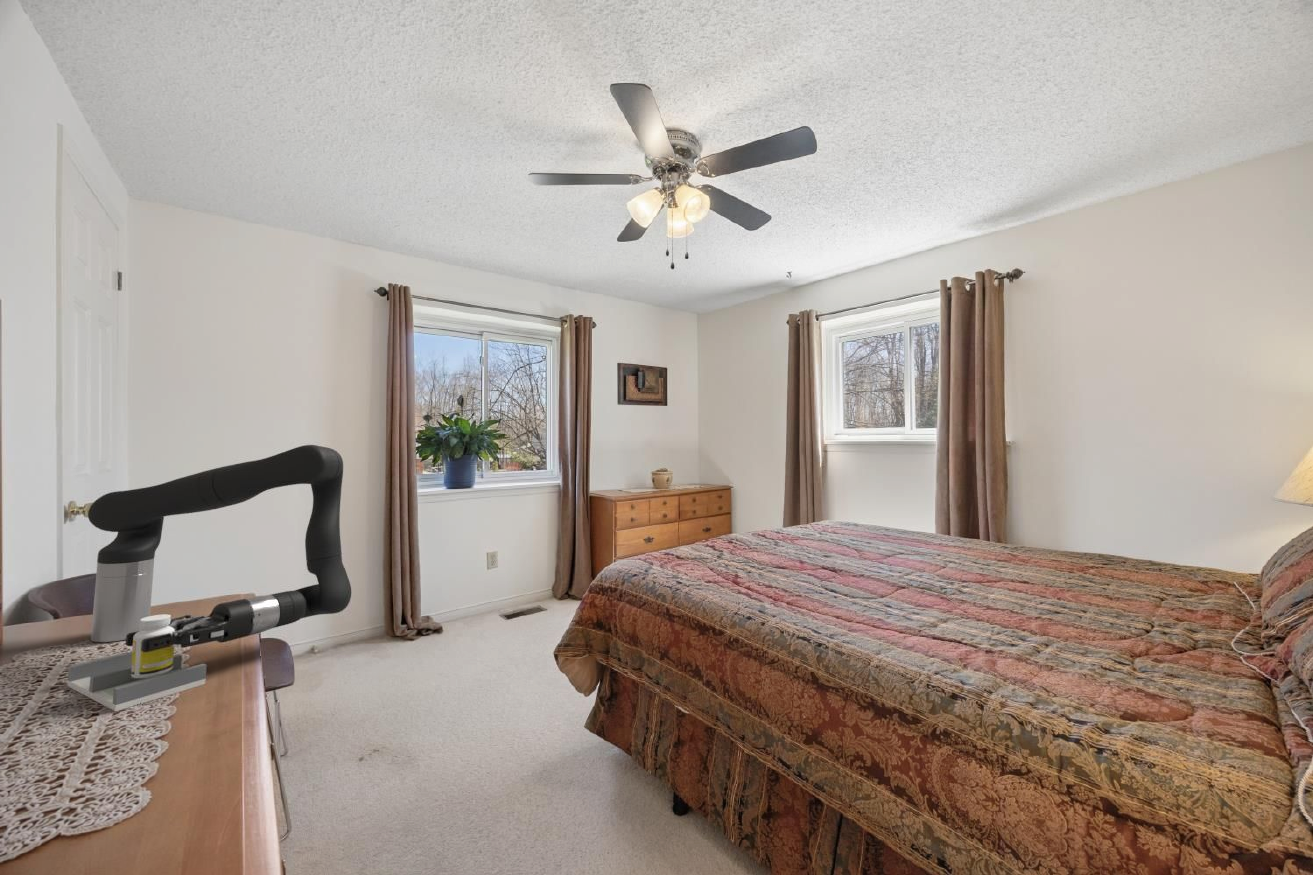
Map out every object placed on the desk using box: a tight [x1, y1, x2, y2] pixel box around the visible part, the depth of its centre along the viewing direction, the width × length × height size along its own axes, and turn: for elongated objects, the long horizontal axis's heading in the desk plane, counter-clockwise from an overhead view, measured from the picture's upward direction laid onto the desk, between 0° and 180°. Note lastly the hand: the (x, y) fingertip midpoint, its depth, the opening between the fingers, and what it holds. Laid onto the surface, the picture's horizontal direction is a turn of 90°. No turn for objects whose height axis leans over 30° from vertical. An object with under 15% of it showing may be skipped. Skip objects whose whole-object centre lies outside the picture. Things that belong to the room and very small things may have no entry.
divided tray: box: [66, 650, 207, 712], centre depth 94 cm, size 20×12×4 cm, turn 64°
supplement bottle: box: [131, 613, 175, 678], centre depth 92 cm, size 5×5×10 cm
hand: (134, 643), depth 90 cm, fingers closed on supplement bottle, 5 cm apart
